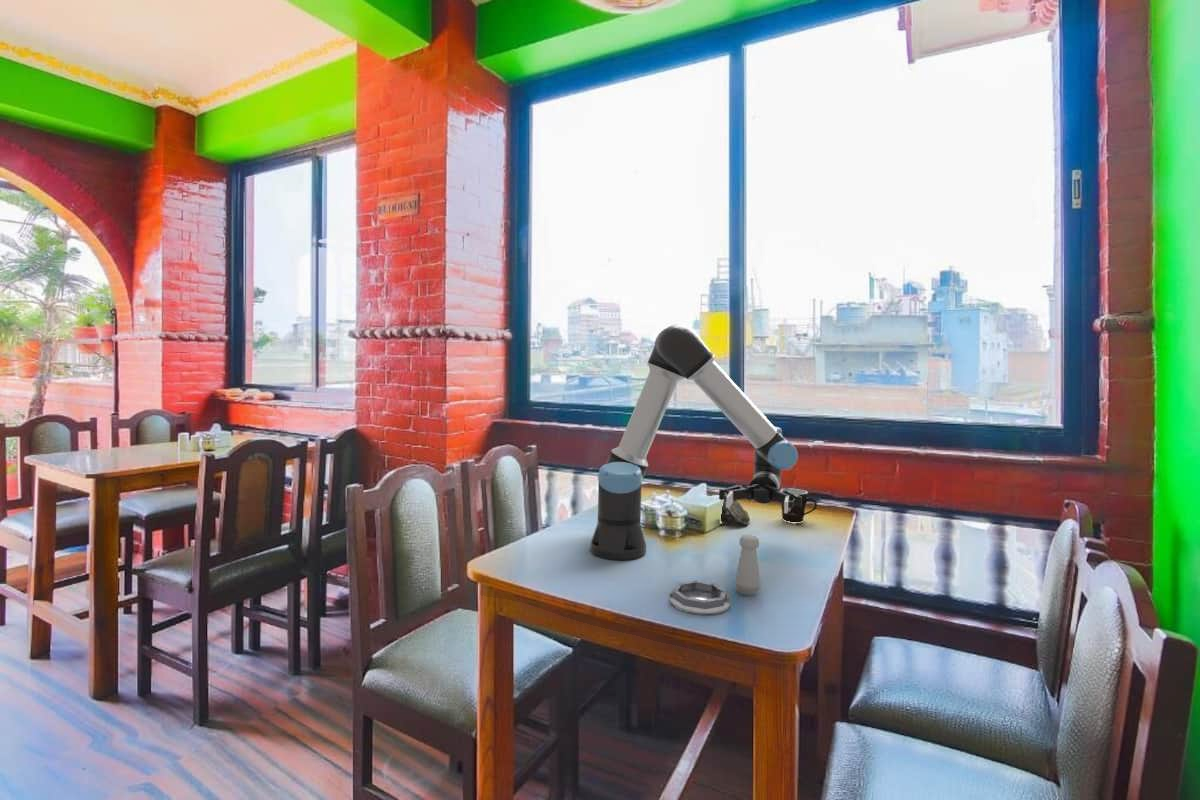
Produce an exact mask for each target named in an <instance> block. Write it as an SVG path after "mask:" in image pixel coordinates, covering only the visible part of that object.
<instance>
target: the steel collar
mask: <svg viewBox="0 0 1200 800" xmlns="http://www.w3.org/2000/svg"><path fill="white" fill-rule="evenodd" d="M670 602H671V603H672V604H673V605H674V606H675V607H677V608H679V609H681V610H683V611H682V612H684V611H687V612H691V613H696V614H695V615H697V614H715V615H718V614H717V613H720V614H723V613H725V612H727V611H728V610H730V608H729V607H731V599H730V597H729V595H728V591H727V590H726V589H724V588H723V587H721V586H719V585H717V584H716V583H712V582H706V581H700V580H699V581H698V580H691V581H685V582H684V581H683V582H678V583H676V585H675V586H674V588H673V590H672V591H670V593H669V603H670ZM671 603H670V604H671ZM672 604H671V605H672ZM674 606H673V607H674ZM675 607H674V608H675ZM677 608H676V609H677ZM679 609H678V610H679ZM681 610H680V611H681ZM726 610H727V611H726ZM724 611H725V612H724ZM687 612H686V613H687ZM722 612H723V613H722ZM691 613H690V614H691Z"/></svg>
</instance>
